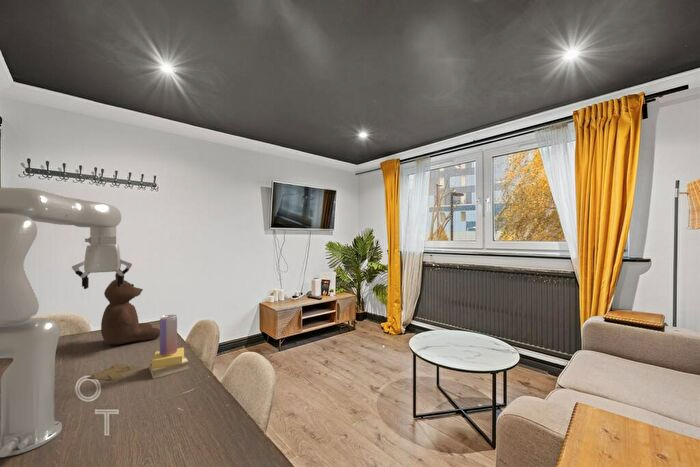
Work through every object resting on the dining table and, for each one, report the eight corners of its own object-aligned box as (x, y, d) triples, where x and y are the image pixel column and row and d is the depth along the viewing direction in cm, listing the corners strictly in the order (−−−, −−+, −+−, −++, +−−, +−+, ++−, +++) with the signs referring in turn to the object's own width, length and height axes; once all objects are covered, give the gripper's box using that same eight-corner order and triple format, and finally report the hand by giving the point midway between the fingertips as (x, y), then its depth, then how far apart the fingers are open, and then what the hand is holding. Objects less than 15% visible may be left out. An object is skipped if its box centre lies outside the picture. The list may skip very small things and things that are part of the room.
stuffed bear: (166, 341, 151) (167, 272, 151) (109, 354, 133) (111, 276, 134) (147, 329, 169) (148, 268, 170) (95, 339, 152) (97, 271, 153)
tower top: (182, 363, 117) (182, 355, 117) (151, 368, 112) (151, 360, 112) (183, 354, 126) (183, 347, 126) (155, 358, 121) (156, 351, 121)
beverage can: (157, 357, 115) (157, 319, 115) (162, 351, 121) (162, 315, 121) (174, 355, 117) (174, 317, 117) (178, 350, 123) (179, 314, 123)
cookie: (113, 382, 109) (113, 379, 109) (86, 379, 111) (86, 377, 111) (141, 368, 121) (141, 365, 121) (116, 365, 123) (116, 363, 123)
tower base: (188, 369, 118) (188, 361, 118) (153, 378, 111) (153, 370, 111) (182, 359, 127) (182, 352, 127) (148, 367, 120) (148, 360, 120)
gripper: (69, 241, 103) (68, 291, 103) (130, 241, 112) (130, 286, 111) (75, 241, 109) (75, 288, 109) (133, 241, 118) (132, 284, 118)
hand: (103, 287), depth 110 cm, fingers open, 9 cm apart
